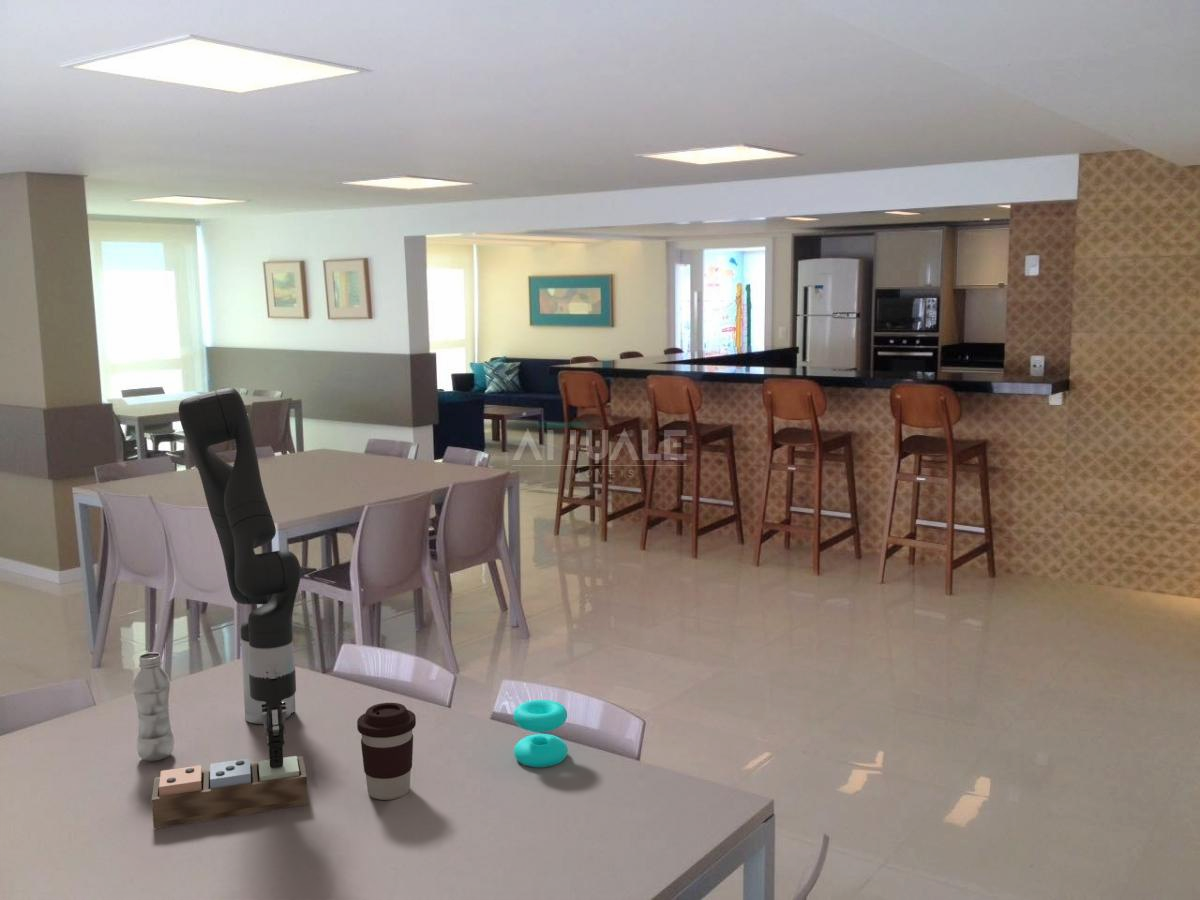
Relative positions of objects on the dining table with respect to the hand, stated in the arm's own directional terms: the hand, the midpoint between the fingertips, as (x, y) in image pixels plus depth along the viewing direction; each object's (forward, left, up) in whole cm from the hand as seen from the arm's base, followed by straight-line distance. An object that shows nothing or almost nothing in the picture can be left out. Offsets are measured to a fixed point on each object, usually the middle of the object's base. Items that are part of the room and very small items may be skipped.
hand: (276, 765), depth 179 cm
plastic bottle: (+3, -32, -6) cm, 33 cm away
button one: (0, 0, -3) cm, 3 cm away
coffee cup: (-13, +14, -6) cm, 20 cm away
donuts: (-39, +27, -6) cm, 48 cm away
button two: (+13, -9, -2) cm, 16 cm away
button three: (+6, -4, -2) cm, 8 cm away
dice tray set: (+6, -4, -6) cm, 10 cm away
